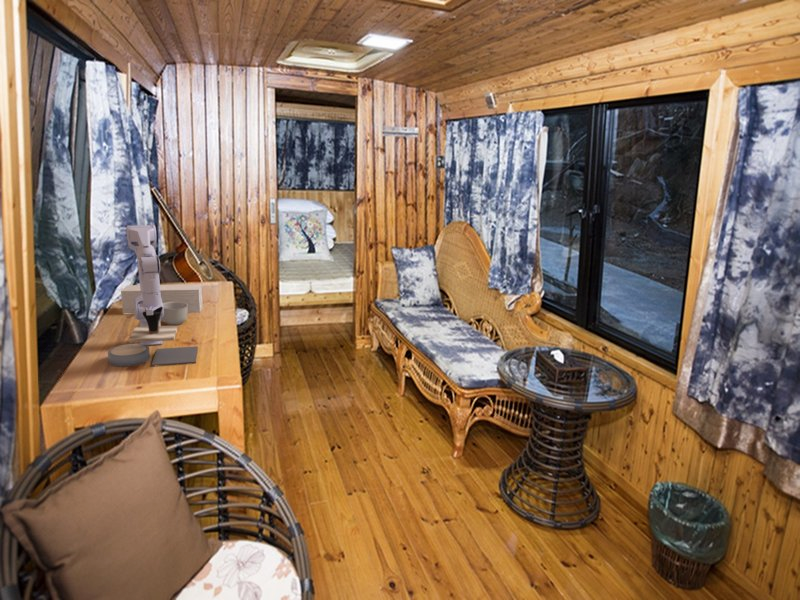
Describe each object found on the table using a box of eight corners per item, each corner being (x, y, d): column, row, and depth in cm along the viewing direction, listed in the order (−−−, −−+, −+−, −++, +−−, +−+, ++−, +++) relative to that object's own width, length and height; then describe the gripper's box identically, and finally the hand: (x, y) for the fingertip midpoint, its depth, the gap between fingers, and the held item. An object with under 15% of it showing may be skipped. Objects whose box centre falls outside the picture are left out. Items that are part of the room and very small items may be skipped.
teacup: (182, 317, 247) (181, 300, 245) (193, 323, 239) (191, 305, 237) (149, 323, 237) (148, 305, 235) (159, 330, 230) (157, 310, 228)
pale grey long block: (123, 314, 249) (120, 291, 246) (128, 308, 259) (126, 285, 256) (200, 312, 256) (198, 289, 253) (202, 306, 266) (201, 284, 263)
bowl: (112, 354, 202) (111, 344, 201) (152, 352, 205) (151, 342, 204) (105, 367, 190) (104, 357, 189) (147, 365, 193) (146, 354, 192)
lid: (135, 329, 202) (134, 315, 201) (177, 328, 206) (177, 314, 205) (128, 342, 189) (127, 327, 188) (173, 340, 193) (173, 326, 192)
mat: (157, 350, 207) (157, 348, 207) (197, 347, 211) (197, 346, 211) (151, 366, 192) (151, 364, 192) (195, 363, 196) (195, 361, 196)
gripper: (141, 287, 199) (145, 324, 203) (135, 297, 186) (138, 336, 189) (163, 286, 201) (166, 323, 205) (158, 296, 188) (161, 335, 191)
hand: (154, 329), depth 197 cm, fingers closed on lid, 3 cm apart
